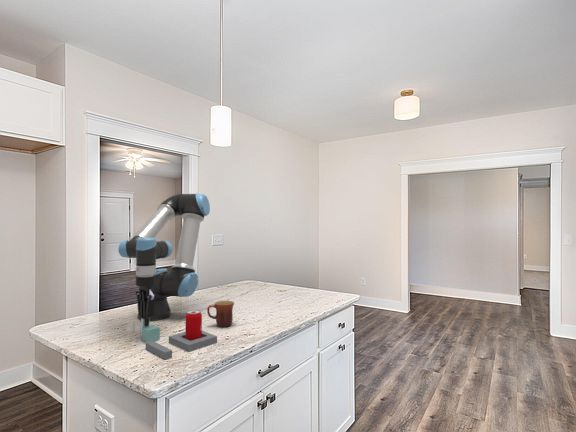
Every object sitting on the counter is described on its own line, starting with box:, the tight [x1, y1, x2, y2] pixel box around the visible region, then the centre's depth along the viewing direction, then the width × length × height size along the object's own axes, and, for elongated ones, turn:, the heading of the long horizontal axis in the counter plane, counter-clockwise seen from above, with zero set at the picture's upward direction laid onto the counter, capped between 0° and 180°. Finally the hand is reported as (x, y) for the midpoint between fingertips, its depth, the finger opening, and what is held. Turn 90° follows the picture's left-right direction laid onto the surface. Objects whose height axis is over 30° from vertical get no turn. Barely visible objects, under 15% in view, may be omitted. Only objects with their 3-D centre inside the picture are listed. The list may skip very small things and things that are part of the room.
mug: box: [206, 300, 235, 328], centre depth 154 cm, size 12×9×10 cm
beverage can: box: [184, 309, 203, 341], centre depth 133 cm, size 6×6×12 cm
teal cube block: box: [141, 324, 161, 343], centre depth 135 cm, size 5×5×5 cm
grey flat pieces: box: [145, 330, 218, 360], centre depth 129 cm, size 14×22×2 cm, turn 139°
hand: (145, 333), depth 138 cm, fingers closed
